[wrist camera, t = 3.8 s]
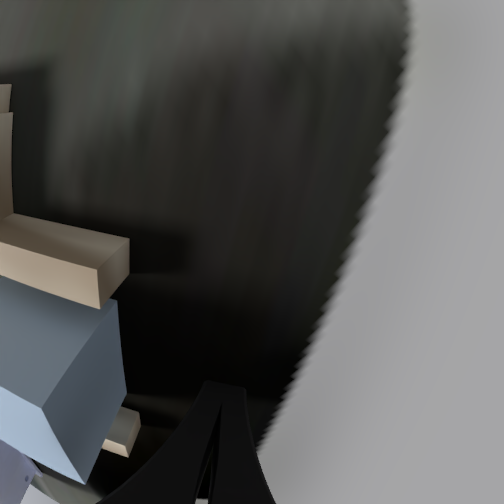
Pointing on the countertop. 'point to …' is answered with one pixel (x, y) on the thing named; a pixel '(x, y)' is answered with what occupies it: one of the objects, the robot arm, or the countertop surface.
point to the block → (58, 377)
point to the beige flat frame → (61, 263)
